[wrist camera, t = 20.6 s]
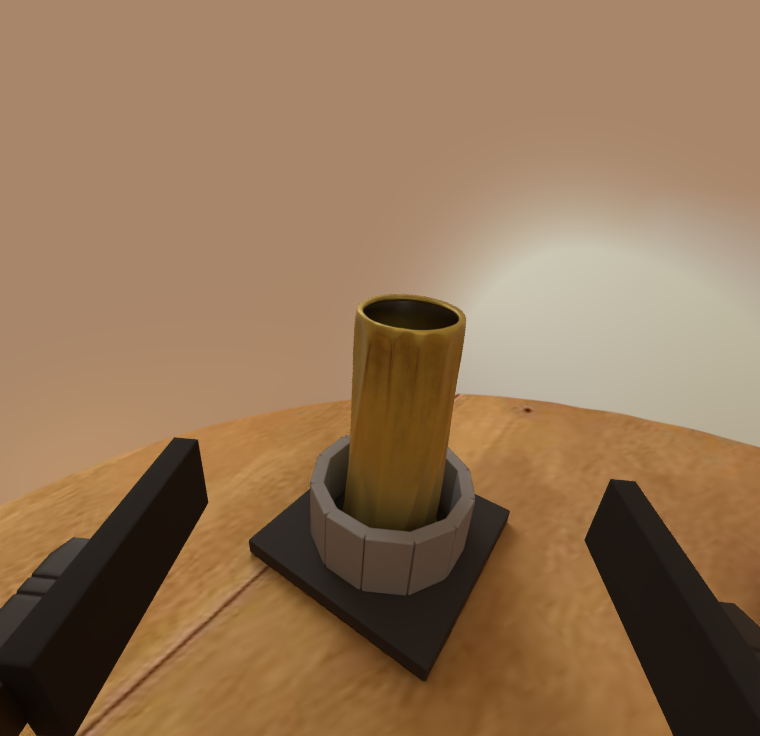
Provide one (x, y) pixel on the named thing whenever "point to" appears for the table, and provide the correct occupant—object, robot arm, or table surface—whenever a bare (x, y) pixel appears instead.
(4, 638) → the robot arm
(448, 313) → the vase
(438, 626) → the socket pad
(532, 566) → the table surface
